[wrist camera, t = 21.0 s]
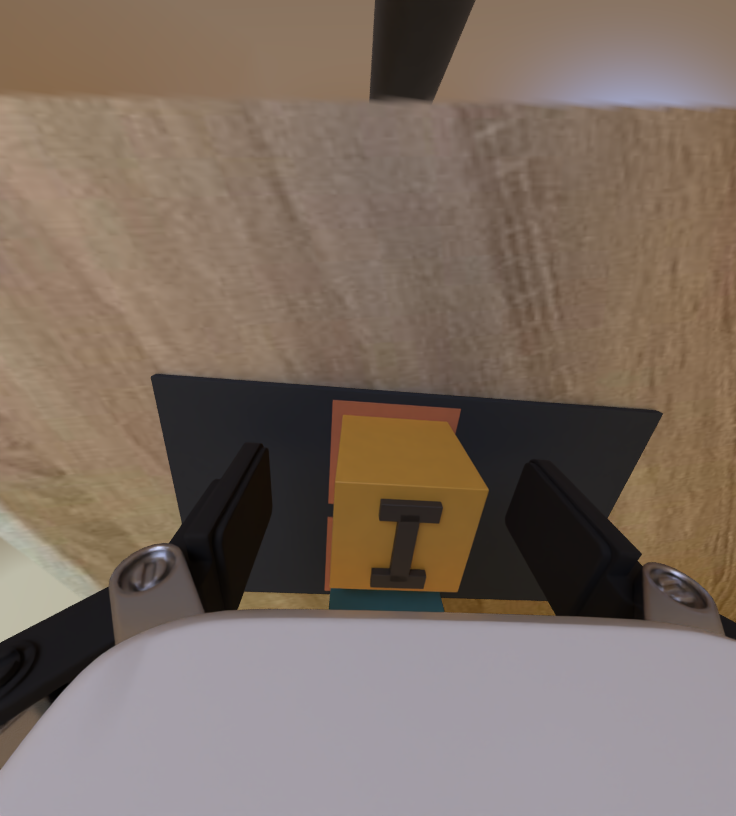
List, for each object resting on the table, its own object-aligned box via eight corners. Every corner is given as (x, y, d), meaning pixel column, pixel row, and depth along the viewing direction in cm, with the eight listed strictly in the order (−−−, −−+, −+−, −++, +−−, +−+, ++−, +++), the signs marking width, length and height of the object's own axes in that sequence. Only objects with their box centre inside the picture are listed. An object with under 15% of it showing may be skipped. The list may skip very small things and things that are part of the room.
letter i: (342, 414, 14) (334, 487, 9) (447, 421, 14) (493, 496, 9) (337, 499, 16) (328, 596, 11) (429, 503, 16) (460, 600, 11)
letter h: (336, 526, 17) (326, 629, 12) (424, 530, 17) (450, 632, 12) (332, 586, 19) (323, 695, 14) (411, 589, 19) (429, 696, 14)
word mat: (155, 373, 13) (148, 376, 13) (656, 410, 15) (665, 414, 14) (199, 584, 19) (195, 591, 19) (559, 596, 20) (564, 603, 20)
